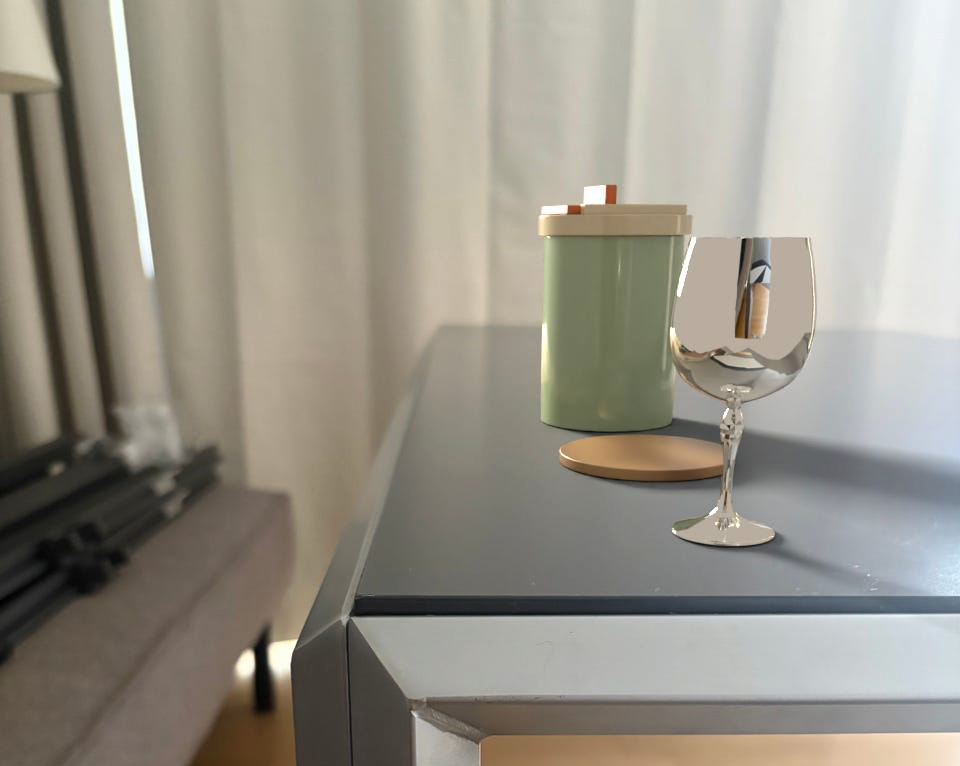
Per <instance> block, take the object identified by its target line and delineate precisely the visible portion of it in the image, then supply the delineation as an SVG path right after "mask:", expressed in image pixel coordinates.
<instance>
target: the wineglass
mask: <svg viewBox="0 0 960 766" xmlns="http://www.w3.org/2000/svg"><path fill="white" fill-rule="evenodd" d="M688 240H689V241H688V243H687V246H686V249H685V252H684V259H683V262H682V266H681V269H680V273H679V277H678V280H677V285H676V289H675V293H674V298H673V304H672V310H671V317H670V327H669V334H670V351H671V355H672V360H673V363H674V366H675V368H676V373H678V376H680V378H681V379H682V380H683V381H684V382H685V383H686V384H688V385H689V386H690V387H691V388H692V389H695V390H696V391H698V392H699V393H701V394H703V395H705V396H707V397H709V398H711V399H714V400H717V401H720V402H723V403H725V404H726V406H727V407H726V408H727V409H726V410H725V412H723V414H722V416H721V420H720V424H719V438H720V441H721V445H722V447H723V474H722V475H721V484H720V492H719V496H718V500H717V502H716V505H715V506H714V507H713V509H712V510H711V511H710V512H709V513H707V514H704V515H698V516H691V517H690V516H689V517H685V518H682V519H678V520H677V521H675V522H674V523H672V524H671V527H670V531H671V532H672V534H673V535H675V536H677V537H679V538H680V539H682V540H686V541H689V542H693V543H697V544H703V545H710V546H717V547H718V546H719V547H749V546H757V545H762V544H766V543H768V542H770V541H771V540H773V539H774V538H775V536H776V533H775V530H774V529H773V528H772V527H771V526H769V525H767V524H765V523H763V522H760V521H757V520H754V519H750V518H745V517H742V516H741V515H740V514H739V513H738V512H737V511H736V509H735V507H734V504H733V503H734V502H733V496H732V495H733V493H732V491H733V481H734V479H733V478H734V469H735V468H734V462H735V457H736V458H737V453H738V450H739V445H740V443H741V440H742V438H743V434H744V431H745V418H744V415H743V412H742V410H741V408H742V406H743V404H745V403H750V402H753V401H756V400H760V399H763V398H765V397H768V396H770V395H773V394H775V393H777V392H779V391H780V390H783V389H784V388H786V387H787V386H789V385H790V384H791V383H792V382H793V381H795V379H797V377H798V376H799V375H800V374H801V373H802V371H803V370H804V368H805V366H806V364H807V362H808V361H809V358H810V355H811V353H812V348H813V345H814V340H815V336H816V327H817V326H816V325H817V316H818V294H817V293H818V292H817V291H818V290H817V277H816V274H817V273H816V264H815V256H814V251H813V247H812V246H813V245H812V237H803V236H802V237H789V236H787V237H782V236H781V237H776V236H775V237H774V236H772V237H771V236H769V237H768V236H764V237H758V236H757V237H755V236H754V237H750V236H749V237H746V236H745V237H742V236H741V237H739V236H737V237H734V236H733V237H729V236H727V237H724V236H723V237H690V238H689V239H688Z"/></svg>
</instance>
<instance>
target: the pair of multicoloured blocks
mask: <svg viewBox="0 0 960 766" xmlns="http://www.w3.org/2000/svg"><path fill="white" fill-rule="evenodd" d="M583 190H584V191H583V204H617V195H618V194H617V192H618V185H617V184H599V185H587V186H584V189H583ZM541 215H581V204H564V205H545V206H543V205H542V206H541Z"/></svg>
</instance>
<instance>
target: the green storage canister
mask: <svg viewBox="0 0 960 766" xmlns="http://www.w3.org/2000/svg"><path fill="white" fill-rule="evenodd" d="M580 205H581V215H542V214H541V215H538V217H537V235H538V236H543V259H542V261H543V266H542V307H541V308H542V313H541V314H542V315H541V359H540V360H541V361H540V363H541V365H540V408H539V409H540V412H539V419H540V420H541V422H542V423H544V424H546V425H549V426H552V427H556V428H561V429H566V430H573V431H584V432H597V433H598V432H599V433H625V432H642V431H650V430H657V429H661V428H664V427H667V426H670V425H671V424H672V423H673V419H674V418H673V417H674V403H675V390H676V377H677V370H676V368H675V366H674V363H673V360H672V355H671V351H670V334H669V327H670V317H671V310H672V304H673V298H674V293H675V289H676V285H677V280H678V277H679V273H680V269H681V266H682V262H683V259H684V256H685V252H686V249H685V247H686V236H692V235H693V226H694V225H693V224H694V215H693V214H687V210H688V204H654V203H653V204H651V203H650V204H648V203H647V204H646V203H644V204H643V203H628V204H627V203H616V204H584V203H581V204H580Z"/></svg>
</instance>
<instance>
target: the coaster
mask: <svg viewBox="0 0 960 766" xmlns="http://www.w3.org/2000/svg"><path fill="white" fill-rule="evenodd" d="M558 457H559V462H560V464H561V465H562V466H564V467H565V468H568V469H569V470H572V471H575V472H578V473H581V474H584V475H590V476H594V477H599V478H606V479H612V480H613V479H614V480H624V481H635V482H637V481H638V482H682V481H694V480H695V481H696V480H703V479H709V478H714V477H718V476H722V474H723V447H722V444H719V443H716V442H714V441H713V442H712V441H708V440H703V439H698V438H692V437H684V436H676V435H675V436H674V435H662V434H661V435H660V434H612V435H611V434H610V435H600V436H592V437H585V438H580V439H575V440H572V441H570V442H567V443H565V444H563V445H562V446H561V447H560V448H559V456H558ZM736 465H737V456H736V457H735V462H734V469H735V468H736Z"/></svg>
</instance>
